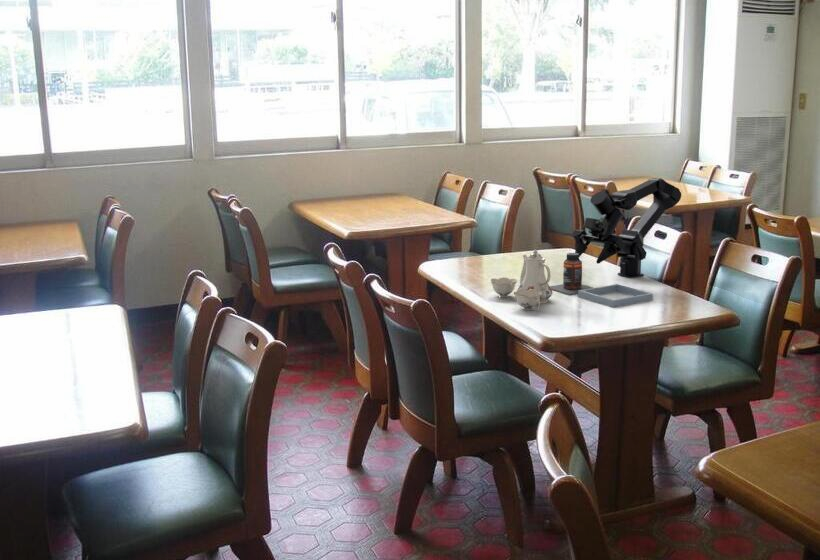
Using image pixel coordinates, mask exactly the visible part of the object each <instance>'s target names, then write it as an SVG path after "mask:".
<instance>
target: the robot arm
mask: <svg viewBox="0 0 820 560" xmlns="http://www.w3.org/2000/svg"><path fill="white" fill-rule="evenodd" d="M650 195H652V196H653V198H652V199H653V200H652V201H653V202H652V204H651V205H650V206H649V207H648V208H647V209H646V211H645V212H644V213H643V215H642V216H641V218H639V220H638V221H637V222H636V224H635V225H634V226H633V227H632V229H625V228H624V229H623V230H622V231H621V233H619V235H617V231H616V228H617V227H618V225H619V223H620V222H626V219H627V218H626V216H625V213H624V212H622V210H623V211H630V210H632V209H633V208H634V207H635V206H637V203H638V202H639V201H640V200H642V199H644V198H646V197H648V196H650ZM681 198H682V191H680V189H679V187H676V186H674V185H673V184H671V183H669V182H667V181H666V180H665V179H663V178H661V177H660V178H658V177H651V178H648V180H646V181H644V182H642V183H640V184H638V185H635V186H634V187H632V188H629V189H623V190H618V191H613V193H612V194H610V192H609V189H606V188H602V189H600V191H597V192H595V193H593V195H591V197H590V203H591V204H592V206H593V208H595V210H596V211H597V213H598V214H599V215H600V216H601V215H602V217H600V218H592V217H591V218H590V217H586V218H585V220H584V223H583V228H586V229H588V233H589V234H591V235H589V234H587V231H585V230H583V229H574V230H573V232H572V233H571V237H572V238H573V240H574V241H575V251H574V253H578V254H579V258H580V257H581V256H582V255H583V254H584V252H586V250H587V249H588V246H589V245H590V243H596V244H601V245H603V248H602V249H601V251H600V254H599V255H598V257H597V259H596V261H595V262H596V264H598V265H599V264H601V263H602V262H604V261H605V260H607V259H609V258H611V257H612V256H614V255H616V257H617V258H621V259H620V267H619V272H617V275H618V276H623V277H626V278H637V277H643V276H644V275H645V273H641V270H642V269H641V267H642V261H643V260H644V259H646V257H647V251H646V249H644V240H645V237H646V235H648V233H649V232H650V231H651V229H652V228H653V227H654V225H655V224H656V223H657V222H658V220H659V219H660V218H661V216H662V215H663V214H664V212H666V211H667V210H670V209H672V208H674V207H675V206H676V205H677V204H679V202H680V201H681Z"/></svg>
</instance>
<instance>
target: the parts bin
mask: <svg viewBox="0 0 820 560" xmlns="http://www.w3.org/2000/svg"><path fill="white" fill-rule="evenodd" d="M613 292H619V293H622V294H626V295H629V296H626V297H622V298H615V299H612V298H609V297H606V296H602V294H608V293H613ZM577 297H578V298H580V299H584V300H587V301H591V302H594V303H598V304H602V305H604V306H608V307H611V308H616V307H617V308H618V307H620V306H622V307H623V306H626V305H627V306H628V305H632V304H638V303H644V302H650V301H653V300H654V293H651V292H648V291H645V290H641V289H637V288H633V287H629V286H626V285H621V284H618V283H615V284H611V285H610V284H608V285H603V286H597V287H593V288H590V289H584V290H578V294H577Z"/></svg>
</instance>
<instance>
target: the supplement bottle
mask: <svg viewBox="0 0 820 560" xmlns="http://www.w3.org/2000/svg"><path fill="white" fill-rule="evenodd" d="M562 272H563V273H562V274H563V275H562V276H563V279H562V280H563V281H562V282H563V283H562V284H563V287H564V288H566V289H580V288H581V287H582V285H583V261H582V260H580V257H579V254H578V253H575V252H567V253H566V259H565V260H563V271H562Z"/></svg>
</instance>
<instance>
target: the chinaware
mask: <svg viewBox="0 0 820 560" xmlns="http://www.w3.org/2000/svg"><path fill="white" fill-rule="evenodd" d="M522 257H523V264H522V269H521V271H520V277H519V284H520V285H519V286H518V288H517V290H516V291H515V287H516V284H517V283H518V280H517V278H509V277H504V276H503V277H499V278H491V279H490V283H491V285H492V288H493V291H494V292H495V293H496V294H497V295H498V297H499V298H508V297H510V295H511V294H513V295H514V296H515V299H516V302H517V303H518V305H519V306H520V307H521V308H523V309H522V310H523V311H528V310H529V311H534V310H535V309H539V308H540V305H541V304H547V303H549V299H550V298H551V297H552V296H553V290H551V288H550V286H551V285H549V282H550V281H551V275H552V274H551V269H550V267H549V265H548V264H547V263H545V261H546V259H547V258H546V257H544V256H542V255H541V253H539V252H538V250H537V249H534V250H533V251H532V253H530V255H529V256H527V254H522ZM545 269H546V272H547V276H546V273H545Z"/></svg>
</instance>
